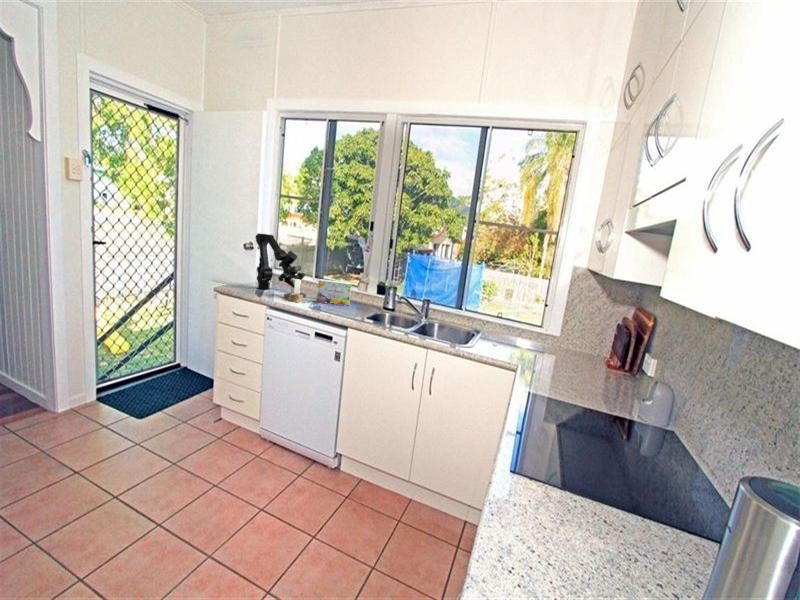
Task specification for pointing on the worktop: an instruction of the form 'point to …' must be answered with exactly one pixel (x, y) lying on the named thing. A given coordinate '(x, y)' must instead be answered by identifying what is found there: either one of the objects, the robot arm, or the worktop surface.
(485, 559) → the worktop surface
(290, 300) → the block
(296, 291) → the white rectangular block
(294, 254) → the robot arm
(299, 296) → the offcut top
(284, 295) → the frame
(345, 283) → the snack box
